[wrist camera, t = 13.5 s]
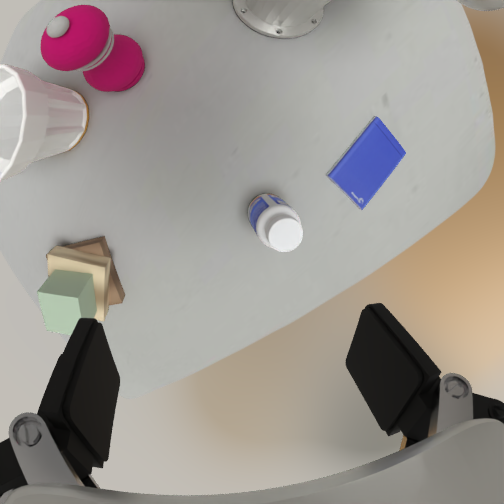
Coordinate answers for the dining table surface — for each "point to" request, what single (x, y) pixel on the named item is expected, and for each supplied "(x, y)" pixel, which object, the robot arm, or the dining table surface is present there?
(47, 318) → the sage block
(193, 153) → the dining table surface
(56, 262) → the oak top block
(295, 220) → the pill bottle
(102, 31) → the pepper mill
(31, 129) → the cup
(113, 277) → the walnut base block
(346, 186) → the hard drive
